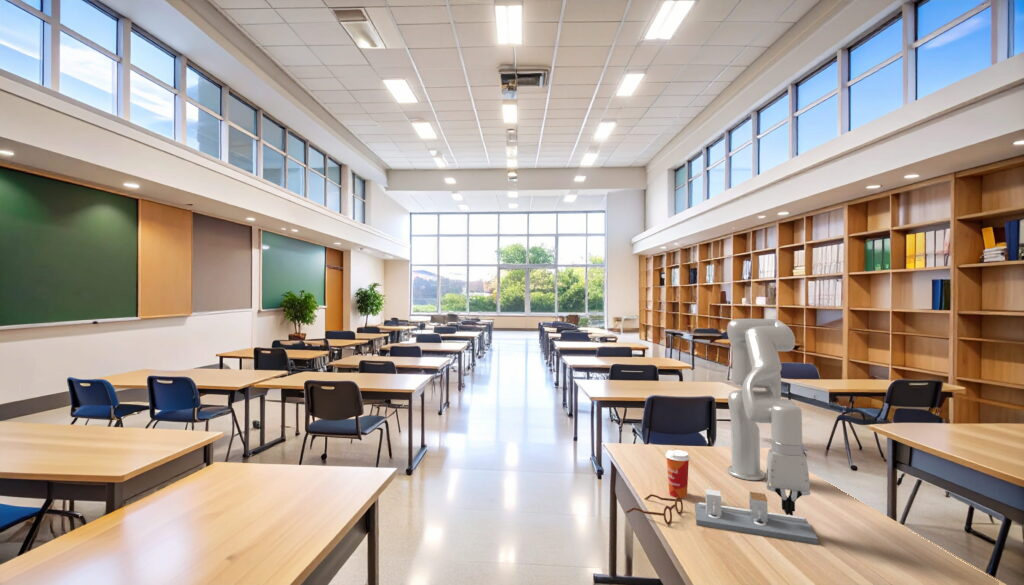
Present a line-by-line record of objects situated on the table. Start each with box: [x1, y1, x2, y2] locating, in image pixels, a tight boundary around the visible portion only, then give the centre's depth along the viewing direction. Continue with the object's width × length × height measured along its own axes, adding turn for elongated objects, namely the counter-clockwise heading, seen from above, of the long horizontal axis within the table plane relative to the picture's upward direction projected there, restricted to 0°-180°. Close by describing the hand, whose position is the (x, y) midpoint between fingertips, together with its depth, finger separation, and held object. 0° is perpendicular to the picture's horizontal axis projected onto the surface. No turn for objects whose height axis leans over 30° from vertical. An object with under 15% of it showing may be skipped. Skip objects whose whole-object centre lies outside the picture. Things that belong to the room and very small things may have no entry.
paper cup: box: [665, 449, 691, 499], centre depth 149 cm, size 8×8×14 cm
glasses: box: [625, 493, 684, 525], centre depth 137 cm, size 13×13×5 cm
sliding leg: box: [749, 491, 768, 523], centre depth 128 cm, size 5×4×7 cm
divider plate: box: [694, 488, 819, 545], centre depth 129 cm, size 12×30×8 cm, turn 69°
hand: (788, 512), depth 126 cm, fingers closed
